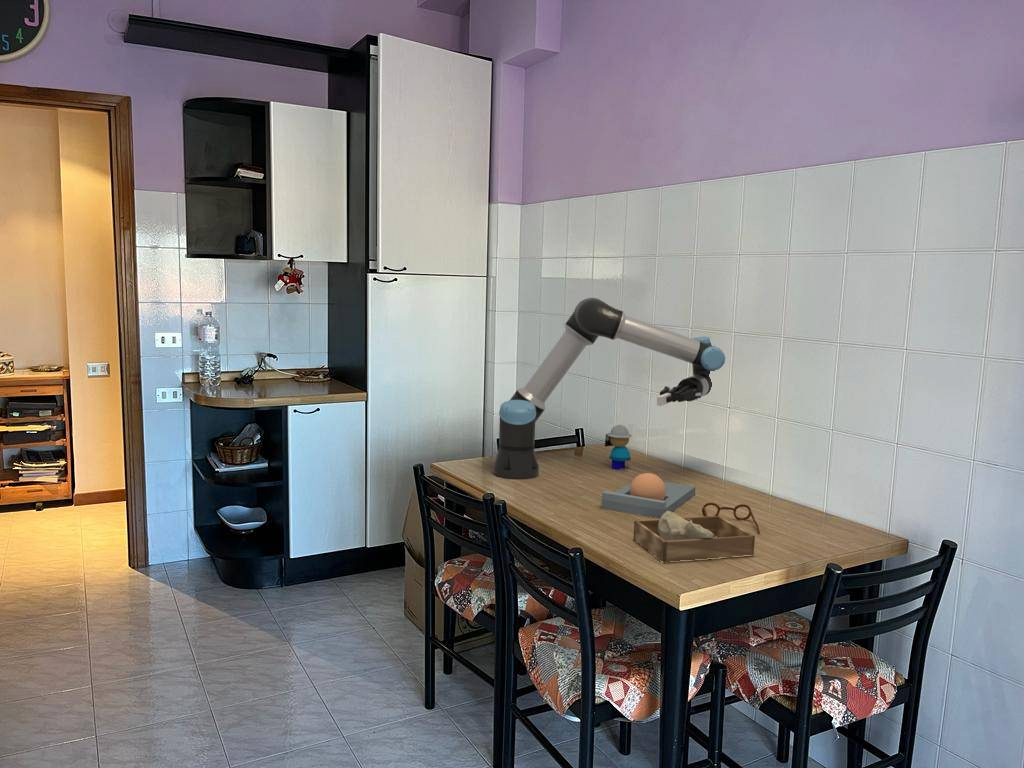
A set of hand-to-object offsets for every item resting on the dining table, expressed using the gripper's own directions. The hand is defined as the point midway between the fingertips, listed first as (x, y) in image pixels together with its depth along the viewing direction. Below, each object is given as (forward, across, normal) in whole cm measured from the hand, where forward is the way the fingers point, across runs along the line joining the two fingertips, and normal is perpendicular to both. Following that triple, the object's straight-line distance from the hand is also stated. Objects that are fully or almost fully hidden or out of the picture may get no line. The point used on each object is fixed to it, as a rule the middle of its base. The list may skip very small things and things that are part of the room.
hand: (659, 401), depth 242 cm
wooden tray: (+45, -32, -25) cm, 61 cm away
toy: (-15, +23, -28) cm, 40 cm away
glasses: (+22, -32, -27) cm, 47 cm away
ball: (+22, -7, -21) cm, 31 cm away
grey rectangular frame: (+15, -5, -27) cm, 31 cm away
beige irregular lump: (+46, -32, -25) cm, 62 cm away
